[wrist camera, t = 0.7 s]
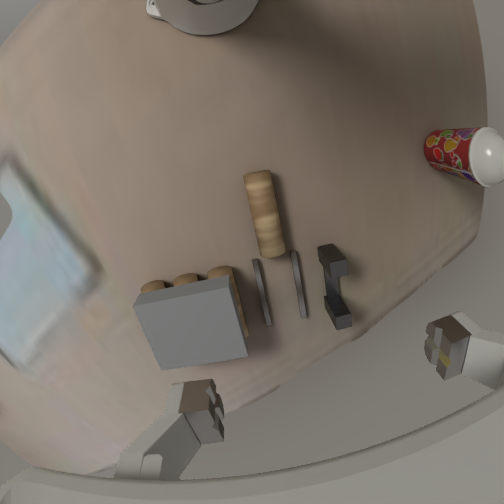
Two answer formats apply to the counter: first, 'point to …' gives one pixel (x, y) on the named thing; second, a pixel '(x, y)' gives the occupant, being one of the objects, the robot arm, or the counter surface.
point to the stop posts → (334, 285)
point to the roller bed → (228, 271)
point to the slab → (192, 323)
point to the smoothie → (468, 154)
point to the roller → (265, 213)
